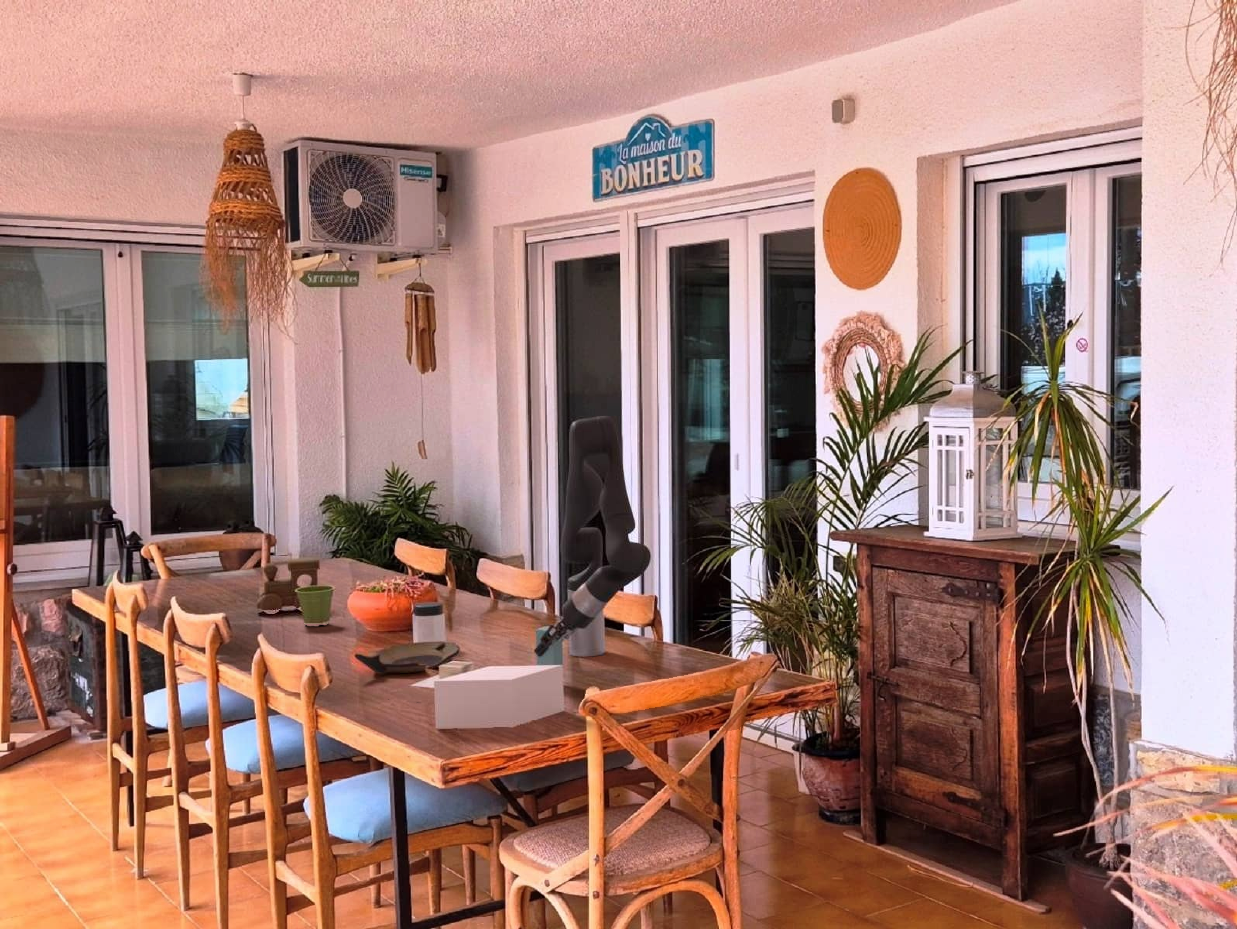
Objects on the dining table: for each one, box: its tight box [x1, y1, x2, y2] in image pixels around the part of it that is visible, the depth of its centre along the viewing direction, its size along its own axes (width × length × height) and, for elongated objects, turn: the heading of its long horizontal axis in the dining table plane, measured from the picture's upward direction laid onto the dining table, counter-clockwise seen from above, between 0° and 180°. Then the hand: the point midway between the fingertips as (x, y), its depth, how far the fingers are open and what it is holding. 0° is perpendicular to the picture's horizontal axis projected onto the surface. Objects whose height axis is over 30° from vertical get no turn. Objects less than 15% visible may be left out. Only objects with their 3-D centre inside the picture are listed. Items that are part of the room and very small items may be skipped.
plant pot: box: [295, 585, 336, 623], centre depth 398 cm, size 12×12×11 cm
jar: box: [412, 601, 447, 643], centre depth 360 cm, size 9×8×12 cm
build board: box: [409, 674, 439, 689], centre depth 314 cm, size 16×16×1 cm
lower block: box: [438, 660, 475, 680], centre depth 314 cm, size 6×6×4 cm
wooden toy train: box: [256, 557, 321, 611], centre depth 425 cm, size 20×11×17 cm, turn 107°
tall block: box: [535, 625, 564, 666], centre depth 312 cm, size 4×4×10 cm
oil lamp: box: [354, 641, 461, 675], centre depth 331 cm, size 22×30×8 cm
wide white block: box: [433, 664, 565, 730], centre depth 281 cm, size 14×29×10 cm, turn 115°
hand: (542, 651), depth 313 cm, fingers closed on tall block, 4 cm apart
